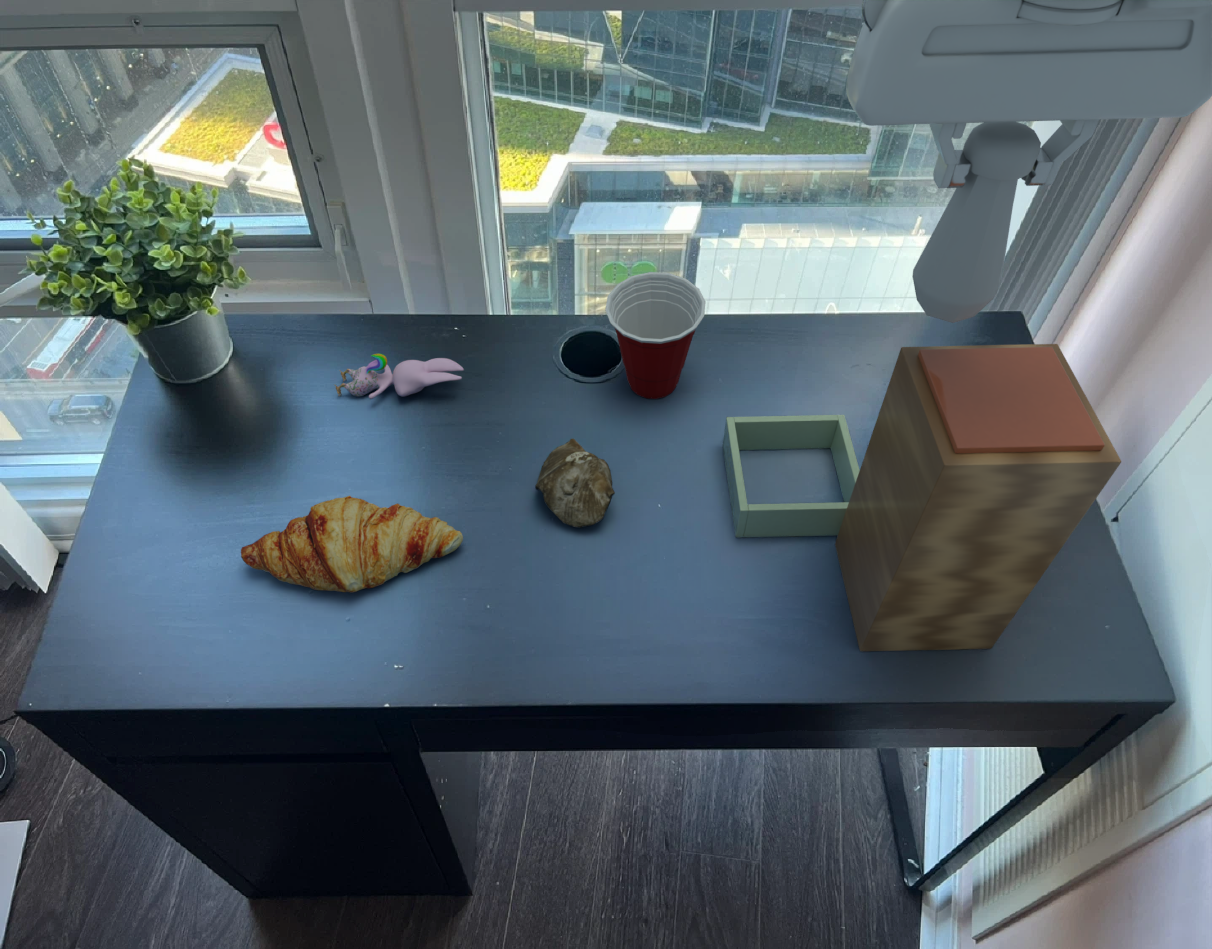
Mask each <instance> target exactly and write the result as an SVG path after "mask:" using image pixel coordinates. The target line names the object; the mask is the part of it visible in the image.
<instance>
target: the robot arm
mask: <svg viewBox="0 0 1212 949" xmlns="http://www.w3.org/2000/svg"><path fill="white" fill-rule="evenodd" d="M861 14H862V15H861V17H862V20H863V23H862V26H861V29H860V31H859V35H858V37H857V41H856V44H855V48H854V51H853V55H852V58H851V61H850V65H849V70H848V73H847V77H846V82H845V92H846V96H847V99H848V103H849V104H850V106H851V108H852V109H853V111H854V113H855V114H856V115H857V117H858V118H859V120H860V121H861V122H862V123H863V124H864V125H866V126H873V127H874V126H904V125H905V126H906V125H908V126H909V125H911V126H912V125H929V128H930V131H931V134H932V137H933V140H934V143H935V146H936V150H937V151H938V155H937V158H936V162H935V164H934V169H933V175H932V178H933V181H934V183H935V185H936V187H937V189H956V188H962V187H963V186H964V185H965V182H966V180H965V178H964V177H966V176H967V175H968V173H969V170H970V167H971V163H970V161H969V160H967V159H966V157H965V155H964V153H963V149H955V147H954V143H953V140H952V139H954V140H956V139H961V138H963V136H964V132H965V129H966V127H967V124H982V123H985V122H1018V123H1021V122H1053V121H1054V122H1055V121H1059V122H1060V123H1061V124H1060V125H1059V127H1058V128H1057V129H1056V130H1055V131H1054V132H1053V133H1052V135H1051V136H1049V138H1048V139H1047V140H1045V142H1044V143H1043V144H1042V145H1041V146H1040V151H1039V155H1038V157H1037V159H1036V161H1035V164H1034V166H1033V168H1032V170H1031V171H1030V173H1029V174H1028V175H1026V176H1024V177H1022V178H1020V179H1021V180H1022V181H1024V185H1025V186H1026V187H1031V186H1032V187H1034V186H1036V187H1039V186H1052V185H1053V184H1054V182H1055V180H1056V178H1057V176H1058V175H1057V174H1058V173H1059V170H1060V168H1061V165H1062V163H1063V162H1065V161H1066V160H1067V159H1069V158H1070V157H1071V156H1072V155H1073V154H1074V153H1075V152H1076V151H1077V150H1078V149H1079V148H1081V147H1082V146H1083V145H1084V144H1085V143H1086V142H1087V141H1089V139H1091V138H1092V137H1093V136H1094V133H1095V131H1096V129H1097V127H1098V124H1099V122H1100V120H1123V119H1124V120H1127V119H1128V120H1130V119H1162V118H1163V119H1166V118H1167V119H1169V118H1185V117H1186V118H1187V117H1188V116H1190V115H1191V114H1193V113H1194V112H1195V111H1196V110H1198V109H1199V108H1200V107H1202V106H1203V105H1204V104H1205V103H1207V102H1208V101H1209V100H1210V99H1211V98H1212V0H862V3H861Z"/></svg>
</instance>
